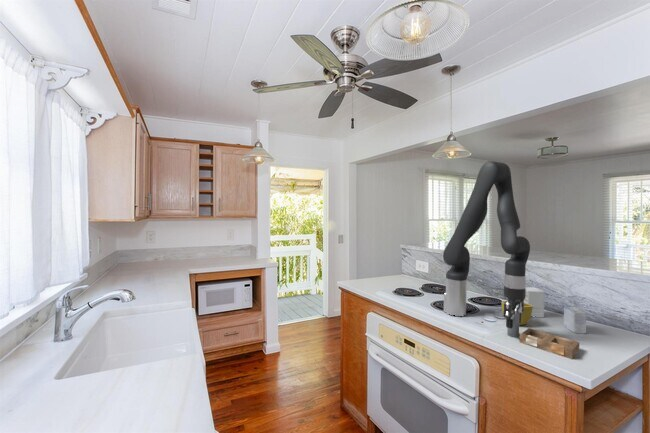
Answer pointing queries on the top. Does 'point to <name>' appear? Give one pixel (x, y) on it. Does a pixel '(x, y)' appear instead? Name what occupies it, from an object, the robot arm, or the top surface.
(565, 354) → the socket block
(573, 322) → the medicine box
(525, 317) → the flower pot
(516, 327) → the plug
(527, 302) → the supplement box
